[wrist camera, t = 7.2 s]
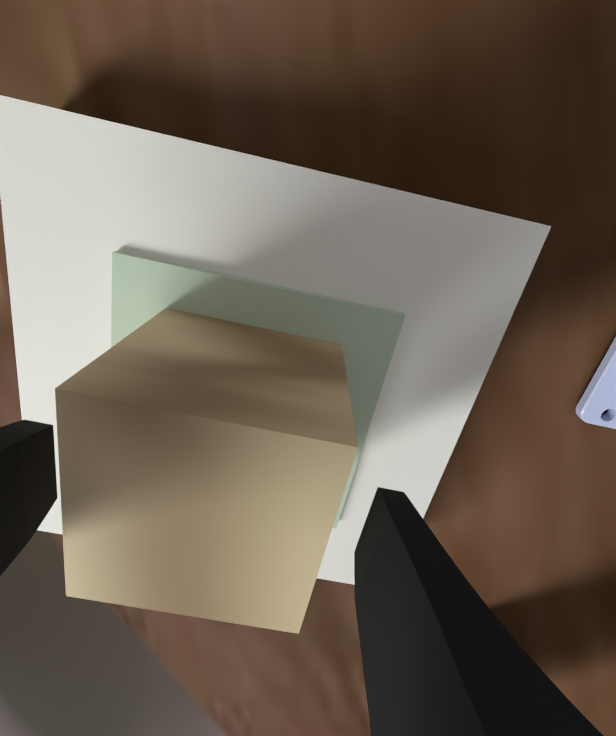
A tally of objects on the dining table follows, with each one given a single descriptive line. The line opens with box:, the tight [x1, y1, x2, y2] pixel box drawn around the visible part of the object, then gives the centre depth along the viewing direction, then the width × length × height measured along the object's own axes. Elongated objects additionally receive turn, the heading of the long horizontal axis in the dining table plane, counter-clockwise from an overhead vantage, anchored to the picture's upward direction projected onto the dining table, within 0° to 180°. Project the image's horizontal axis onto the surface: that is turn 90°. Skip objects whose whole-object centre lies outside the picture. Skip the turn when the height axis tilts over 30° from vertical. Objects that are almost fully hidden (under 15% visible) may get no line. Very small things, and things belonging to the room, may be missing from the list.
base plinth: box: [0, 95, 551, 585], centre depth 13 cm, size 14×14×3 cm
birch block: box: [55, 308, 358, 634], centre depth 10 cm, size 5×5×5 cm
